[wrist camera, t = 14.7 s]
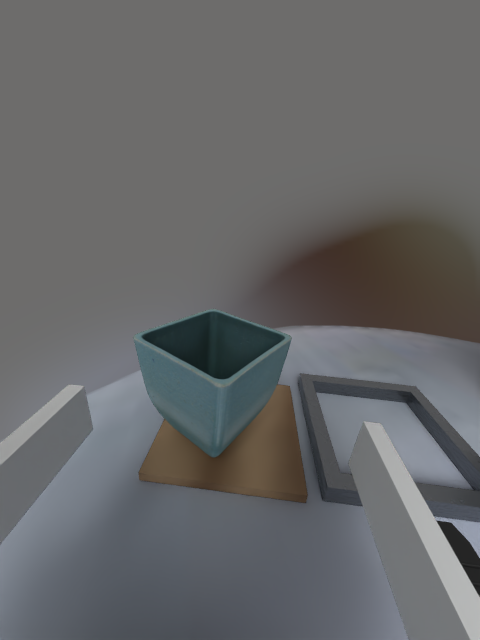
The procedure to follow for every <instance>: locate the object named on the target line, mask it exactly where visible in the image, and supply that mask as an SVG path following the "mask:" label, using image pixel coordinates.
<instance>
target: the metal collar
mask: <svg viewBox="0 0 480 640" xmlns="http://www.w3.org/2000/svg"><path fill="white" fill-rule="evenodd" d="M298 386H299V390H300V395H301V400H302V404H303V409H304V414H305V418H306V423H307V428H308V432H309V437H310V441H311V446H312V451H313V455H314V460H315V465H316V469H317V474H318V479H319V483H320V488H321V493H322V497H323V501H327V502H335V503H342V504H349V505H357V506H363V505H362V502H361V499H360V496H359V493H358V490H357V487H356V485H355V482H354V479H353V476H352V474H345V473H340V470H339V467H338V463H337V460H336V457H335V454H334V450H333V447H332V444H331V440H330V437H329V434H328V431H327V427H326V424H325V421H324V418H323V414H322V411H321V408H320V405H319V401H318V398H317V395H316V392H320V393H328V394H337V395H346V396H354V397H363V398H372V399H380V400H389V401H397V402H406V403H407V404H408V405H409V407H410V408H411V409H412V410H413V412H414V413H415V414H416V416H417V417H418V418H419V419H420V421H421V422H422V423H423V425H424V426H425V427H426V428H427V430H428V431H429V432H430V434H431V435H432V436H433V437H434V439H435V440H436V441H437V443H438V444H439V445H440V446H441V448H442V449H443V450H444V452H445V453H446V454H447V455H448V457H449V458H450V459H451V461H452V462H453V463H454V464H455V466H456V467H457V468H458V470H459V471H460V472H461V473H462V475H463V476H464V477H465V478H466V480H467V481H468V482H469V484H470V485H471V486H472V487H473V489H474V490H468V489H460V488H453V487H445V486H437V485H430V484H422V483H415V484H416V486H417V488H418V490H419V491H420V493H421V495H422V497H423V499H424V500H425V502H426V504H427V506H428V507H429V509H430V511H431V513H432V514H433V516H438V517H445V518H452V519H460V520H467V521H474V522H480V457H479V456H478V455H477V453H476V452H475V451H474V450H473V449H472V448H471V447H470V446H469V445H468V443H467V442H466V441H465V440H464V439H463V438H462V437H461V436H460V435H459V434H458V432H457V431H456V430H455V429H454V428H453V427H452V426H451V425H450V424H449V423H448V421H447V420H446V419H445V418H444V417H443V416H442V415H441V414H440V413H439V412H438V410H437V409H436V408H435V407H434V406H433V405H432V404H431V403H430V402H429V401H428V399H427V398H426V397H425V396H424V395H423V394H422V393H421V392H420V391H419V390H418V388H417V387H416V386H407V385H398V384H389V383H380V382H372V381H363V380H354V379H345V378H336V377H327V376H318V375H309V374H301V373H300V377H299V382H298Z"/></svg>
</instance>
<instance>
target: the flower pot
mask: <svg viewBox="0 0 480 640" xmlns="http://www.w3.org/2000/svg"><path fill="white" fill-rule="evenodd" d="M133 339H134V343H135V347H136V351H137V355H138V359H139V363H140V367H141V371H142V375H143V379H144V383H145V386H146V389H147V392H148V395H149V397H150V399H151V401H152V402H153V404H154V406H155V407H156V408H157V410H158V411H159V413H160V414H161V415H162V416H163V417H164V418H165V420H166V421H167V422H168V423H169V424H170V425H171V426H172V427H173V428H175V429H176V430H177V431H178V432H180V433H181V434H182V435H184V436H185V437H186V438H188V439H189V440H190V441H191V442H193V443H194V444H195V445H196V446H198V447H199V448H200V449H201V450H203V451H204V452H205V453H206V454H208V455H209V456H211V457H217V456H219V455H220V454H221V453H222V452H223V451H224V450H225V449H226V448H227V447H228V446H229V445H230V444H231V443H232V441H233V440H234V439H235V438H236V437H237V436H238V435H239V434H240V433H241V432H242V431H243V430H244V429H245V428H246V427H247V426H248V425H249V424H250V423H251V422H252V421H253V420H254V419H255V418H256V417H257V415H258V414H259V413H260V412H261V411H262V409H263V408H264V407H265V405H266V404H267V403H268V401H269V399H270V398H271V396H272V394H273V392H274V390H275V388H276V386H277V383H278V380H279V377H280V374H281V371H282V368H283V365H284V362H285V359H286V356H287V352H288V349H289V346H290V343H291V339H292V337H291V336H290V335H287V334H285V333H282V332H279V331H277V330H274V329H271V328H268V327H265V326H261V325H259V324H256V323H254V322H251V321H247V320H245V319H242V318H239V317H236V316H233V315H230V314H228V313H225V312H222V311H219V310H215V309H209V310H206V311H203V312H200V313H197V314H194V315H191V316H188V317H185V318H183V319H179V320H176V321H173V322H170V323H167V324H164V325H161V326H158V327H155V328H152V329H149V330H146V331H143V332H140V333H138V334H136V335H134V337H133Z"/></svg>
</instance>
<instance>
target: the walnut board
mask: <svg viewBox="0 0 480 640" xmlns="http://www.w3.org/2000/svg"><path fill="white" fill-rule="evenodd" d="M139 480H142V481H149V482H157V483H164V484H171V485H178V486H186V487H193V488H200V489H208V490H215V491H222V492H229V493H237V494H244V495H251V496H259V497H266V498H273V499H281V500H288V501H295V502H302V503H306V500H307V497H308V494H307V488H306V482H305V476H304V470H303V464H302V458H301V451H300V445H299V439H298V433H297V427H296V421H295V415H294V409H293V403H292V396H291V390H290V386H286V385H277V386H276V388H275V390H274V392H273V394H272V396H271V398H270V399H269V401H268V403H267V404H266V405H265V407H264V408H263V409H262V411H261V412H260V413H259V414H258V415H257V417H256V418H255V419H254V420H253V421H252V422H251V423H250V424H249V425H248V426H247V427H246V428H245V429H244V430H243V431H242V432H241V433H240V434H239V435H238V436H237V437H236V438H235V439H234V440H233V441H232V443H231V444H230V445H229V446H228V447H227V448H226V449H225V450H224V451H223V452H222V453H221V454H220V455H219V456H217V457H211V456H209V455H208V454H206V453H205V452H204V451H203V450H201V449H200V448H199V447H198V446H196V445H195V444H194V443H193V442H191V441H190V440H189V439H188V438H186V437H185V436H184V435H182V434H181V433H180V432H178V431H177V430H176V429H175V428H173V427H172V426H171V425H170V424H169V423H168V422H167V421H166V420H165V419H164V421H163V423H162V425H161V427H160V429H159V432H158V434H157V436H156V438H155V440H154V442H153V444H152V446H151V448H150V450H149V452H148V454H147V456H146V458H145V460H144V463H143V465H142V467H141V469H140V471H139Z"/></svg>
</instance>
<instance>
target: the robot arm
mask: <svg viewBox="0 0 480 640" xmlns="http://www.w3.org/2000/svg"><path fill="white" fill-rule="evenodd" d="M92 430H93V426H92V421H91V416H90V411H89V406H88V402H87V397H86V392H85V387H84V386H77V385H68V386H67V387H65V388H64V389H63V390H62V391H61V392H60V393H59V394H57V395H56V396H55V397H54V398H53V399H51V400H50V401H49V402H48V403H47V404H46V405H44V406H43V407H42V408H41V409H40V410H39V411H37V412H36V413H35V414H34V415H33V416H32V417H30V418H29V419H28V420H27V421H26V422H25V423H23V424H22V425H21V426H20V427H19V428H18V429H16V430H15V431H14V432H13V433H12V434H11V435H10V436H8V437H7V438H6V439H5V440H4V441H2V442H1V443H0V544H1V543H2V542H3V541H4V539H5V538H6V537H7V536H8V534H9V533H10V532H11V531H12V529H13V528H14V527H15V526H16V524H17V523H18V522H19V521H20V519H21V518H22V517H23V516H24V514H25V513H26V512H27V511H28V510H29V508H30V507H31V506H32V505H33V503H34V502H35V501H36V500H37V498H38V497H39V496H40V495H41V493H42V492H43V491H44V490H45V488H46V487H47V486H48V485H49V483H50V482H51V481H52V480H53V478H54V477H55V476H56V475H57V474H58V472H59V471H60V470H61V469H62V467H63V466H64V465H65V464H66V462H67V461H68V460H69V459H70V457H71V456H72V455H73V454H74V452H75V451H76V450H77V449H78V447H79V446H80V445H81V444H82V443H83V441H84V440H85V439H86V438H87V436H88V435H89V434H90V433H91V431H92ZM348 464H349V467H350V470H351V473H352V476H353V479H354V482H355V485H356V487H357V490H358V493H359V496H360V499H361V502H362V505H363V508H364V511H365V514H366V517H367V520H368V522H369V525H370V528H371V531H372V534H373V537H374V540H375V543H376V546H377V549H378V552H379V554H380V557H381V560H382V563H383V566H384V569H385V572H386V575H387V578H388V581H389V584H390V586H391V589H392V592H393V595H394V598H395V601H396V604H397V607H398V610H399V613H400V616H401V618H402V621H403V624H404V627H405V630H406V633H407V636H408V639H409V640H480V558H479V557H478V555H477V553H476V552H475V550H474V549H473V547H472V546H471V544H470V542H469V541H468V540H467V539H466V538H465V537H464V536H463V535H462V534H461V533H460V532H459V531H458V530H457V528H456V527H455V526H454V525H453V524H452V523H449V522H442V521H436V520H435V518H434V516H433V514H432V513H431V511H430V509H429V507H428V506H427V504H426V502H425V500H424V499H423V497H422V495H421V493H420V491H419V490H418V488H417V486H416V484H415V483H414V481H413V479H412V477H411V476H410V474H409V472H408V470H407V469H406V467H405V465H404V463H403V462H402V460H401V458H400V456H399V455H398V453H397V451H396V449H395V448H394V446H393V444H392V442H391V440H390V439H389V437H388V435H387V433H386V432H385V430H384V428H383V426H382V425H381V423H373V422H365V421H363V424H362V427H361V430H360V432H359V435H358V438H357V441H356V443H355V446H354V449H353V452H352V455H351V457H350V460H349V463H348Z"/></svg>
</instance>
